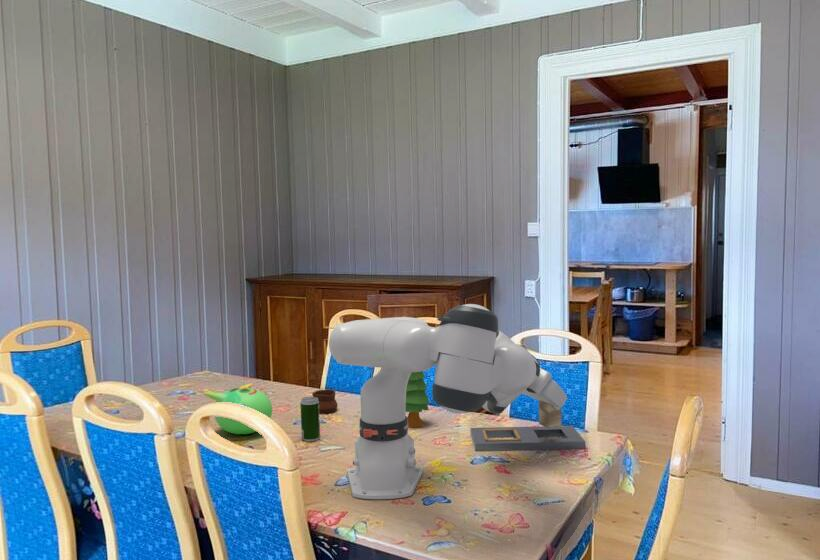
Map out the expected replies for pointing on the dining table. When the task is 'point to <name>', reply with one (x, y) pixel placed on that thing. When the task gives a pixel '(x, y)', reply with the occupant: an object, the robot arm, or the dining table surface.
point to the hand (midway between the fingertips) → (551, 405)
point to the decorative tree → (416, 398)
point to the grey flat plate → (526, 438)
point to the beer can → (310, 419)
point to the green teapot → (242, 397)
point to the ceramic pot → (326, 401)
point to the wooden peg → (549, 415)
